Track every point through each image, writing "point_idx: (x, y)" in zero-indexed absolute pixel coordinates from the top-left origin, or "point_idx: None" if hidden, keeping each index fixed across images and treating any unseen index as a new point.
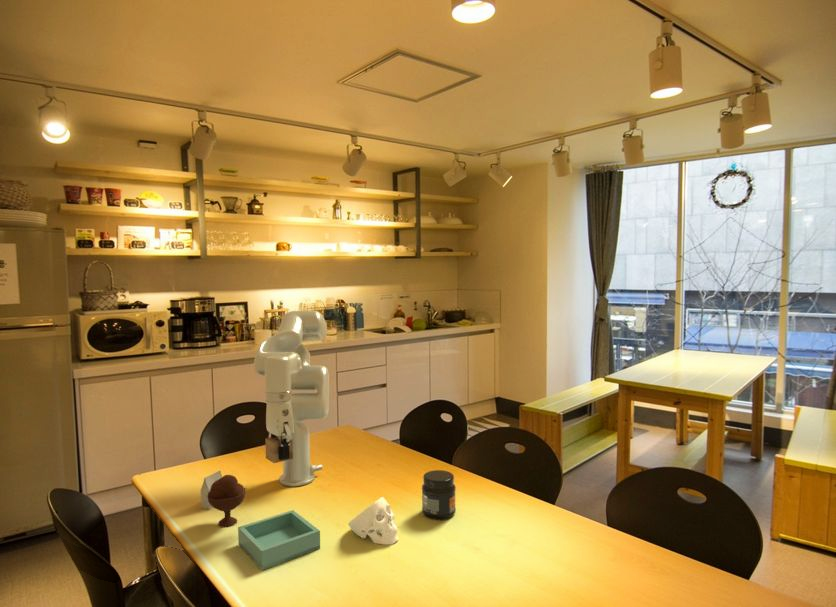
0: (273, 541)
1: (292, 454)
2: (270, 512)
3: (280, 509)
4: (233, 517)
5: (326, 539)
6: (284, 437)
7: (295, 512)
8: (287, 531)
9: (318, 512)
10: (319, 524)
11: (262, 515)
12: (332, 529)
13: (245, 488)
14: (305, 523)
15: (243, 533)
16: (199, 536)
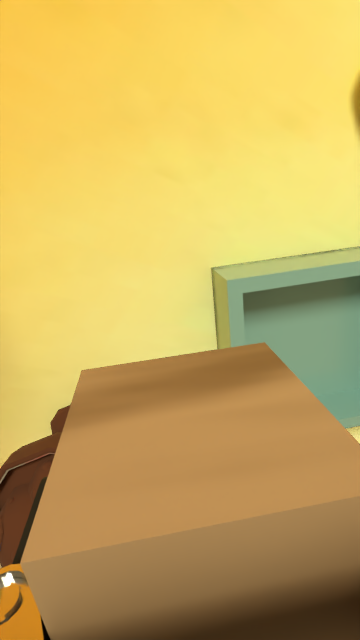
0: (283, 350)
1: (281, 364)
2: (65, 303)
3: (56, 266)
4: (61, 414)
5: (348, 205)
6: (212, 576)
7: (251, 278)
8: (254, 302)
9: (157, 144)
10: (248, 183)
11: (76, 332)
12: (307, 158)
13: (55, 448)
14: (349, 275)
15: None
16: None
